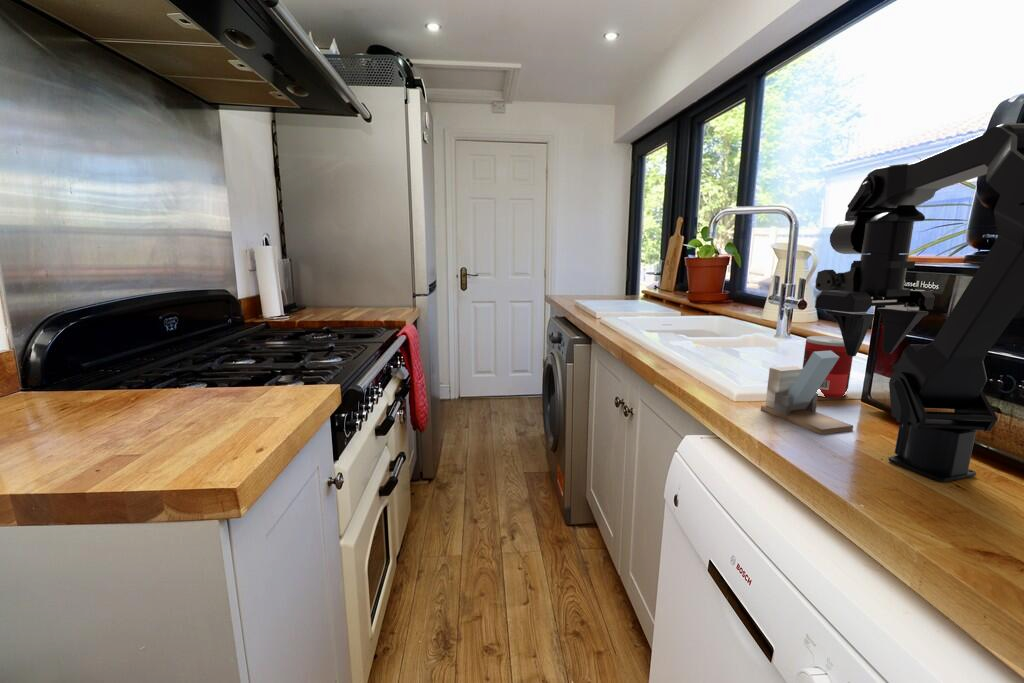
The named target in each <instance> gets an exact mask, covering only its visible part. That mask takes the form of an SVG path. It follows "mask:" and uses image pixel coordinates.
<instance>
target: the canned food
mask: <svg viewBox="0 0 1024 683" xmlns="http://www.w3.org/2000/svg"><path fill="white" fill-rule="evenodd" d="M830 350H831V351H832V352H834V353H835V354H836V355H838V356H839V359H838V360H837V362H836V363H835V365H834V366H833V368H832V369H831V371H830V372H829V374H828V375H827V377H826V378H825V380H824V381H823V383H822V384H821V386H820V387H819V389H820V390H821V392H822V393H823V394H824V396H825V397H824V398H827V399H842V398H844V397H843V395H844V394H845V392H846V391H847V389H848V388H849V384H850V379H851V378H850V377H851V370H852V364H853V358H854V356H853V357H852V356H848V355H847V353H846V349H845V345H844V341H843V338H842V337H839V336H838V337H837V336H825V335H811V336H807V337H806V339H805V344H804V353H803V360H802V362H803V363H802V368H804V366H805V365H806V363H807V361H808V360H809V358H810V357H811V355H812V353H813V352H815V351H830ZM848 390H849V389H848ZM847 392H848V391H847Z"/></svg>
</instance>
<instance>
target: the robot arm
mask: <svg viewBox="0 0 1024 683" xmlns="http://www.w3.org/2000/svg"><path fill="white" fill-rule="evenodd" d="M985 175H986V176H985ZM982 176H985V177H986V179H985V182H986V183H987V184H988V185H989V186H990V187H991V188H992V189H993V190H995V192H996V193H998V194H999V197H998V200H997V202H996V204H995V206H994V209H993V214H994V220H995V225H996V230H997V237H996V239H995V241H994V243H993V245H992V246H991V247H990V249H989V251H988V253H986V256H985V257H984V259H983V261H982V262H981V264H980V265H979V267H978V269H977V270H976V272H975V274H974V275H973V277H972V278H971V280H970V282H969V283H968V285H967V286H966V288H965V289H964V291H963V292H962V294H961V296H960V297H959V299H958V300H957V302H956V304H955V305H954V307H953V308H952V310H951V311H950V313H949V314H948V317H947V318H946V319H945V321H944V323H943V325H942V326H941V328H940V329H939V331H938V332H937V334H936V336H935V337H934V339H933V340H932V341H931V342H930V343H928V344H908V345H907V346H906V347H905V348H903V350H902V353H901V356H900V357H899V359H898V360H897V362H896V363H895V364H894V365H892V369H894V371H893V373H892V374H891V377H890V378H889V382H888V388H889V390H888V391H889V398H890V400H889V401H890V411H891V413H890V414H891V417H892V418H895V419H896V422H897V423H899V424H902V425H899V426H898V430H897V435H896V441H895V442H896V443H895V448H894V455H891V456H888V459H887V460H888V462H890V463H894V464H896V465H897V466H901V467H903V468H905V469H908V470H911V471H913V472H915V473H918V474H920V475H923V476H925V477H927V478H930V479H933V480H935V481H937V482H942V483H945V482H950V481H956V480H961V479H967V478H971V477H976V475H977V472H976V471H975V470H973V469H970V465H971V464H970V463H971V458H972V454H973V448H974V443H975V438H976V434H977V431H983V432H991V431H992V429H993V428H994V426H995V425H996V423H997V421H998V416H997V414H996V412H995V410H994V409H993V406H992V404H991V403H990V401H989V400H988V398H987V396H986V395H985V392H984V390H983V389H984V387H985V385H986V383H987V381H988V376H987V371H986V367H985V363H984V360H985V358H986V356H987V354H988V353H989V352H990V350H991V349H992V348H993V347H994V345H995V344H996V342H997V341H998V339H999V338H1000V336H1001V335H1002V334H1003V333H1004V331H1005V330H1006V328H1007V327H1008V326H1009V324H1010V323H1011V321H1012V320H1013V319H1014V317H1015V316H1016V314H1017V313H1018V312H1019V310H1021V308H1022V307H1023V305H1024V123H1022V122H1021V123H1019V122H1018V123H1017V122H1016V123H1001V124H999V125H997V126H992V127H990V128H989V129H987V130H985V131H984V133H982V134H980V135H977V136H975V137H972V138H969V139H968V140H965V141H963V142H960V143H958V144H956V145H953V146H951V147H949V148H948V147H947V148H946V149H944V150H942V151H939V152H936V153H934V154H932V155H930V156H927V157H925V158H923V159H920V160H917V161H916V162H911V163H901V164H893V165H892V164H891V165H883V166H879V167H876V168H873V169H872V170H871V171H870V172H869V173H868V174H867V175H866V177H865V178H864V179H863V181H861V184H860V185H859V187H858V190H857V191H856V192H855V194H854V196H853V197H852V198H851V200H850V201H849V202H848V204H847V210H846V212H845V216H844V221H842V222H839V223H838V224H837V225H836V226H835V227H834V228H833V229H832V231H831V233H830V234H829V243H830V246H831V248H832V249H833V250H834V251H835V252H837V253H839V254H842V255H860V260H853V262H852V263H851V264H850V268H849V270H848V271H844V272H838V273H837V272H836V271H835V270H834V269H823V270H819V271H818V272H817V274H816V278H815V289H816V290H817V291H820V292H819V293H818V294H816V295H815V303H814V309H816V310H817V309H819V310H823V311H824V313H825V314H827V315H830V316H831V317H832V318H833V319H834V320H835V321H836V323H837V324H838V328H839V330H840V334H841V338H843V341H844V345H845V349H846V353H847V355H848V356H852V357H853V358H854V357H856V356H857V354H858V353H859V350H860V349H861V346H862V344H863V342H864V340H865V338H866V335H867V333H868V330H869V328H870V326H871V324H872V322H873V320H874V317H875V315H876V314H875V313H868V311H869V310H870V309H871V308H872V307H877V311H878V313H879V314H880V315H881V317H882V318H883V328H882V329H883V333H882V353H884V354H888V355H889V354H892V353H893V352H894V351H895V350H896V348H898V346H899V345H900V344H901V342H902V341H904V339H905V338H906V336H908V334H909V333H910V332H911V331H912V330H913V329H914V328H915V326H916V325H917V324H918V323H919V322H920V321H921V320H922V318H923V317H924V316H927V315H928V314H929V311H926V310H934V309H933V306H934V300H935V296H934V295H933V294H932V292H931V291H932V290H930V291H925V290H926V289H915V290H913V288H905V282H906V275H907V270H908V269H915V267H916V260H915V261H912V260H909V257H910V256H909V255H910V250H911V245H912V244H911V243H912V239H913V238H912V237H913V232H914V224H915V223H917V222H923V221H925V219H926V216H925V215H924V214H923V213H922V212H921V211H919V210H918V209H917V207H918V206H920V205H922V204H924V203H926V202H928V201H930V200H931V199H933V198H934V196H935V195H936V192H937V191H941V189H944V188H947V187H950V186H954V185H958V184H959V183H963V182H967V181H969V180H973V179H976V178H979V177H982ZM919 298H921V301H920V305H921V307H919V306H917V305H918V300H919ZM883 306H884V307H883ZM920 308H921V309H922V310H920ZM926 409H933V410H953V411H950V412H949V411H930V410H929V411H926Z"/></svg>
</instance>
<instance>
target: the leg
mask: <svg viewBox="0 0 1024 683" xmlns="http://www.w3.org/2000/svg"><path fill="white" fill-rule="evenodd" d="M838 359H839V356H838V355H836V354H835V353H834V352H832V351H831V350H830V351H815V352H813V353H812V355H811V357H810V358H809V360H808V361H807V363H806V365H805V366H804V368H803V367H802V368H803V369H802V371H801V373H800V374H799V376H798V377H797V379H796V381H795V382H794V384H793V386H792V387H791V389H790V390H789V392H788V394H787V395H789V396H792V401H791V409H790V411H793V410H802V409H806V408H807V407H808V405H809V404H810V402H811V399H812V398H813V396H814V395H815V393H816V392H817V390H818V389H819V387H820V386H821V384H822V383H823V381H824V380H825V378H826V377H827V375H828V374H829V372H830V371H831V369H832V368H833V366H834V365H835V363H836V362H837V360H838Z"/></svg>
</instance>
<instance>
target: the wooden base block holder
mask: <svg viewBox="0 0 1024 683" xmlns="http://www.w3.org/2000/svg"><path fill="white" fill-rule="evenodd" d="M802 369H803V367H799V366H795V365H785V366H784V365H783V366H774V367H769V370H768V380H767V387H766V388H767V390H766V398H765V404H761V406H760V410H761V411H764V412H766V413H768V414H770V415H773V416H775V417H778V418H780V419H783V420H786V421H788V422H790V423H793V424H795V425H798V426H800V427H803V428H805V429H807V430H810V431H813V432H815V433H817V434H819V435H827V434H833V433H841V432H849V431H853V430H854V425H853V424H850V423H848V422H845V421H843V420H840V419H837V418H834V417H831V416H828V415H825V414H824V413H820V412H818V411H817V404H818V403H817V402H818V397H819V396H818V394H817V393H815V395H814V396H813V398H812V399H811V402H810V404H809V405H808V407H807V408H806V409H802V410H793V411H790V409H791V401H792V396H789V395H787V394H788V392H789V390H790V389H791V387H792V386H793V384H794V382H795V381H796V379H797V377H798V376H799V374H800V373H801V371H802Z"/></svg>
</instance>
